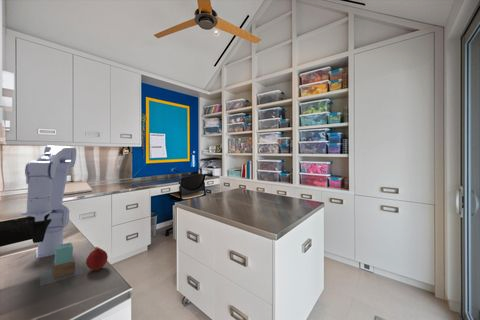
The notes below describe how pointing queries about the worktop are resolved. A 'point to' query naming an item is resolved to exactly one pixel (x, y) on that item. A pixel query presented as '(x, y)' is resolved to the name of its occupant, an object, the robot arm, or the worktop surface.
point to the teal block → (63, 253)
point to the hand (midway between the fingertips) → (37, 239)
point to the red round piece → (96, 259)
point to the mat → (48, 278)
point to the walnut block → (63, 268)
